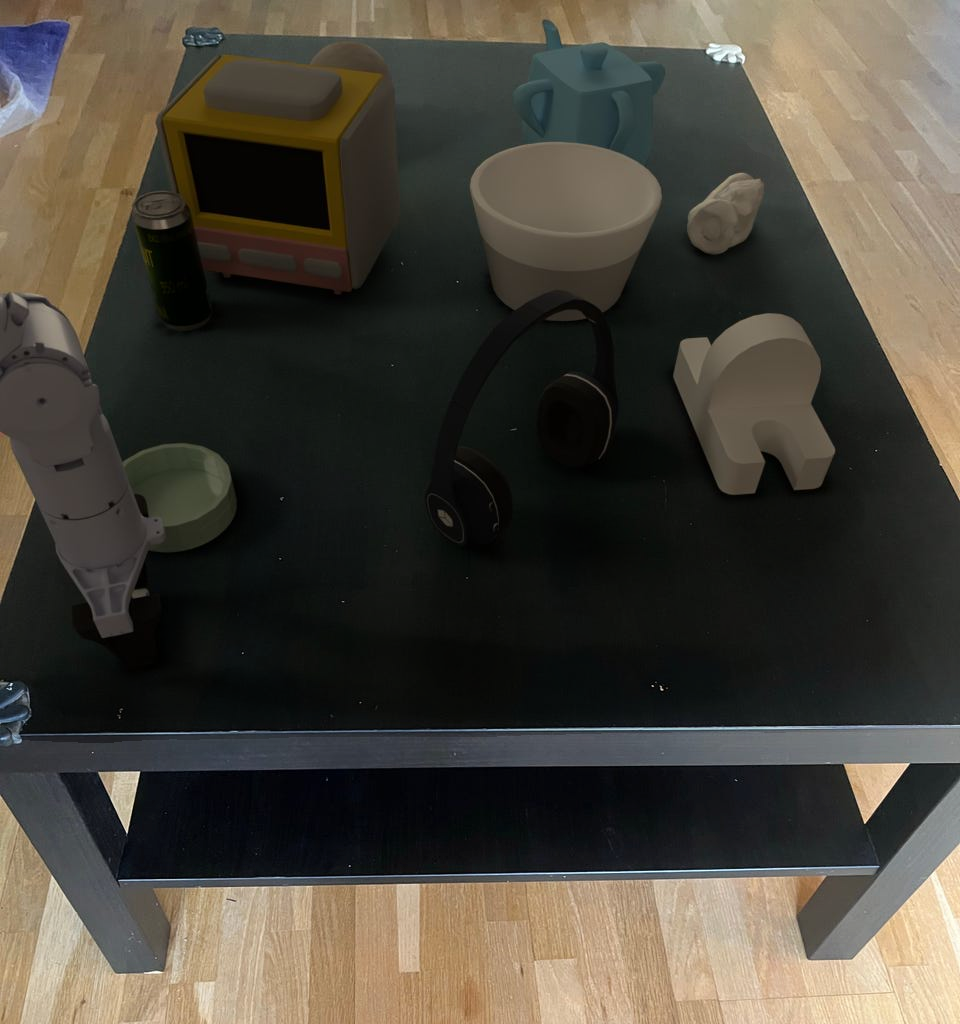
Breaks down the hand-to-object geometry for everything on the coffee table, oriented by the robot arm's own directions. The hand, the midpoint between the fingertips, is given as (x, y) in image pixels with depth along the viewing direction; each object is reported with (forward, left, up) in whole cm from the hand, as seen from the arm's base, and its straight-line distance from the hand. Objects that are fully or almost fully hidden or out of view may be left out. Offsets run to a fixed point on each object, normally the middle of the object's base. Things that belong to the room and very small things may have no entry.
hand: (137, 622), depth 72 cm
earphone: (+33, +7, -2) cm, 34 cm away
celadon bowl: (+4, +13, -2) cm, 14 cm away
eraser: (0, 0, -2) cm, 2 cm away
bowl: (+47, +37, -2) cm, 60 cm away
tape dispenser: (+56, +10, -2) cm, 57 cm away
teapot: (+59, +63, -2) cm, 86 cm away
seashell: (+32, +75, -2) cm, 82 cm away
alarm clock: (+21, +49, -2) cm, 53 cm away
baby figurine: (+69, +42, -2) cm, 81 cm away
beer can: (+8, +41, -2) cm, 42 cm away
